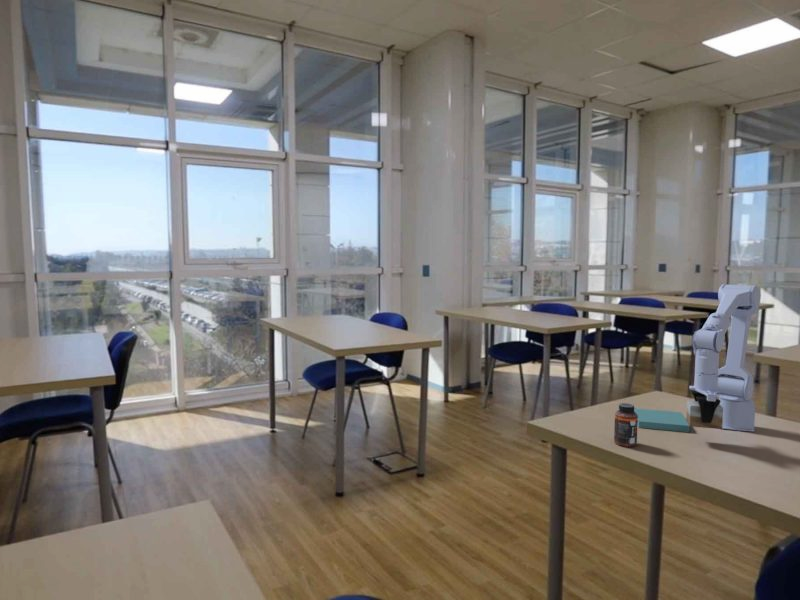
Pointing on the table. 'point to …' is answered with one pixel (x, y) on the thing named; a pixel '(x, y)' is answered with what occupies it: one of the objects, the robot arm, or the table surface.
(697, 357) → the robot arm
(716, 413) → the block
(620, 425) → the supplement bottle
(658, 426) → the teal stand
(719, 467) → the table surface
